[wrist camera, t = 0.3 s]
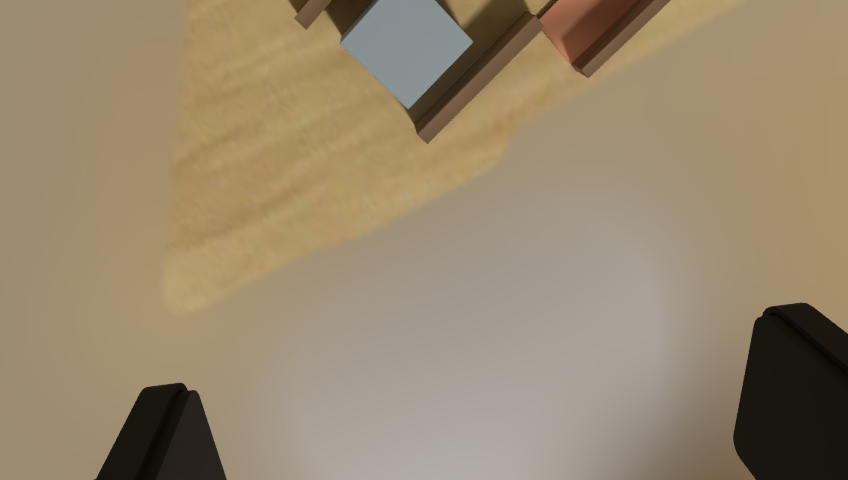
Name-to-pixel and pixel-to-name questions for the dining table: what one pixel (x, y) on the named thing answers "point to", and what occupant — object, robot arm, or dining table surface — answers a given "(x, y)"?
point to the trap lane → (562, 23)
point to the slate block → (405, 45)
